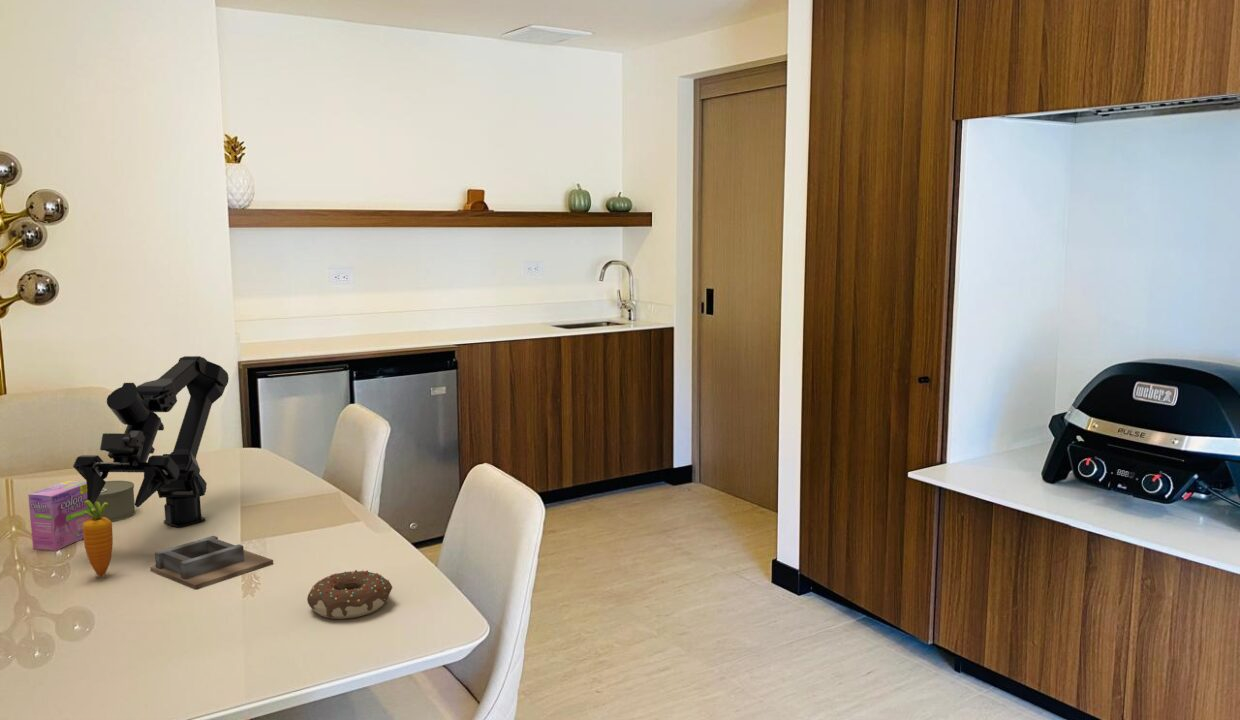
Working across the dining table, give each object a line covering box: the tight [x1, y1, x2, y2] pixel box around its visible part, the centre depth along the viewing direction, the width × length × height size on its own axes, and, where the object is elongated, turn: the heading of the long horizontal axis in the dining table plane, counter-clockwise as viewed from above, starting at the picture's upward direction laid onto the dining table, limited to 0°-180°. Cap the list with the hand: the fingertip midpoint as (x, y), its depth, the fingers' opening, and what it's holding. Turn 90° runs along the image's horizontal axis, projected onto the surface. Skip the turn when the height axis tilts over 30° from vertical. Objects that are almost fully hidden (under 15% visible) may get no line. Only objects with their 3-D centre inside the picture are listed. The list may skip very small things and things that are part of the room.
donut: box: [306, 569, 393, 620], centre depth 163 cm, size 14×14×5 cm
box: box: [27, 480, 91, 552], centre depth 196 cm, size 10×6×12 cm, turn 168°
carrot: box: [82, 500, 114, 578], centre depth 176 cm, size 5×5×15 cm
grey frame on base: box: [149, 535, 274, 590], centre depth 182 cm, size 16×16×4 cm
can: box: [91, 480, 136, 523], centre depth 214 cm, size 12×12×7 cm
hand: (113, 506), depth 181 cm, fingers open, 9 cm apart
